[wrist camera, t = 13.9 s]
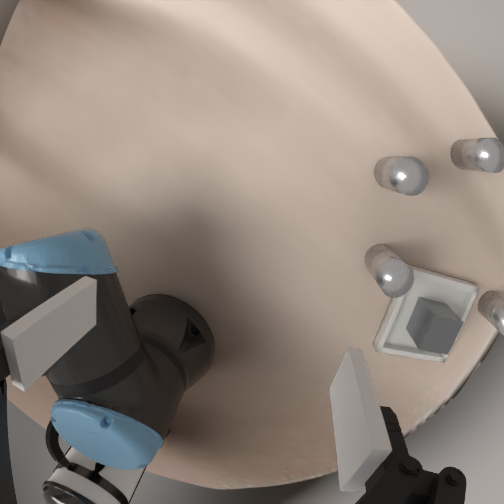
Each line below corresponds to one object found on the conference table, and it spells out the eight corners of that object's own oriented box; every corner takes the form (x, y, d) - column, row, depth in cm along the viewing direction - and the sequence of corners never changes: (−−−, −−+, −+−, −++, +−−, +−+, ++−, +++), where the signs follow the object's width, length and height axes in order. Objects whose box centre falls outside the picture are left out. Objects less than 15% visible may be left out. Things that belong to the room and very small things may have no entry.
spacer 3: (470, 173, 35) (503, 177, 28) (448, 163, 36) (478, 165, 28) (476, 146, 34) (508, 145, 27) (453, 135, 34) (484, 132, 27)
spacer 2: (387, 276, 41) (406, 300, 33) (361, 269, 41) (375, 293, 33) (397, 248, 39) (418, 267, 32) (370, 240, 40) (387, 258, 32)
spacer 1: (399, 192, 38) (422, 200, 30) (370, 183, 38) (389, 189, 30) (406, 163, 36) (431, 164, 29) (378, 153, 37) (398, 151, 29)
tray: (440, 355, 43) (444, 362, 41) (372, 343, 43) (375, 351, 42) (472, 283, 39) (478, 288, 37) (404, 263, 40) (409, 268, 38)
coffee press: (185, 410, 51) (125, 554, 22) (156, 448, 55) (104, 563, 27) (101, 358, 50) (2, 476, 21) (85, 404, 55) (10, 504, 26)
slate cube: (432, 333, 41) (447, 354, 36) (405, 328, 42) (418, 350, 36) (446, 303, 40) (463, 322, 34) (418, 296, 40) (434, 315, 34)
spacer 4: (490, 316, 40) (515, 339, 32) (474, 312, 40) (498, 336, 33) (500, 293, 39) (527, 314, 31) (484, 288, 39) (511, 310, 32)
